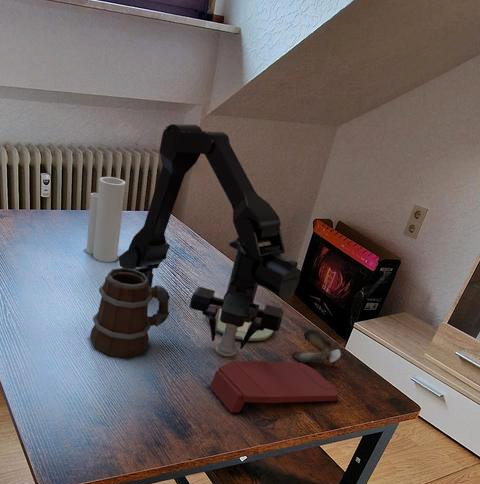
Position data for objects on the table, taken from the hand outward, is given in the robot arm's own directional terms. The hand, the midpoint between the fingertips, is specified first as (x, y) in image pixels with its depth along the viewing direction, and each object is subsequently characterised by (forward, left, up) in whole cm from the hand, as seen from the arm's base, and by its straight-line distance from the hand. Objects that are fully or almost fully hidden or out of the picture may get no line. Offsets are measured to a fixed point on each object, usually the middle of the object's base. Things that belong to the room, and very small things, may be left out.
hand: (227, 344), depth 115 cm
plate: (+11, +9, -2) cm, 15 cm away
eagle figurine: (+19, -9, -2) cm, 21 cm away
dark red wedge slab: (+1, -16, -2) cm, 16 cm away
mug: (-19, +9, -2) cm, 21 cm away
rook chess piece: (0, 0, -2) cm, 2 cm away
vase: (-5, +54, -2) cm, 54 cm away
